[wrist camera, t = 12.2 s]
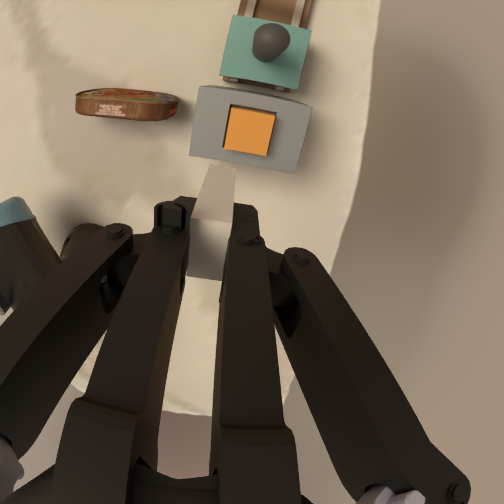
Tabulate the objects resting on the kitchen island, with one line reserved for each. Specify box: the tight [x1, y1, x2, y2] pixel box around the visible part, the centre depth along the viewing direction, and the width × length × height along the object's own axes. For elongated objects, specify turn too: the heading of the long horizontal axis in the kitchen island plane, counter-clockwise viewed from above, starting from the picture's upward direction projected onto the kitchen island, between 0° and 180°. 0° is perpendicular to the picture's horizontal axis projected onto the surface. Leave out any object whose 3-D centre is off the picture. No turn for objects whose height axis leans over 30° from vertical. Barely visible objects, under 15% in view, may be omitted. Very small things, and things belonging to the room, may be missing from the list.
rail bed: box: [223, 0, 312, 92], centre depth 25 cm, size 22×9×2 cm, turn 169°
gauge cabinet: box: [189, 85, 312, 174], centre depth 31 cm, size 12×8×10 cm, turn 79°
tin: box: [75, 88, 179, 121], centre depth 29 cm, size 15×3×8 cm, turn 74°
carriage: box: [219, 15, 311, 90], centre depth 22 cm, size 8×9×13 cm
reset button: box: [224, 106, 275, 156], centre depth 27 cm, size 4×4×3 cm
